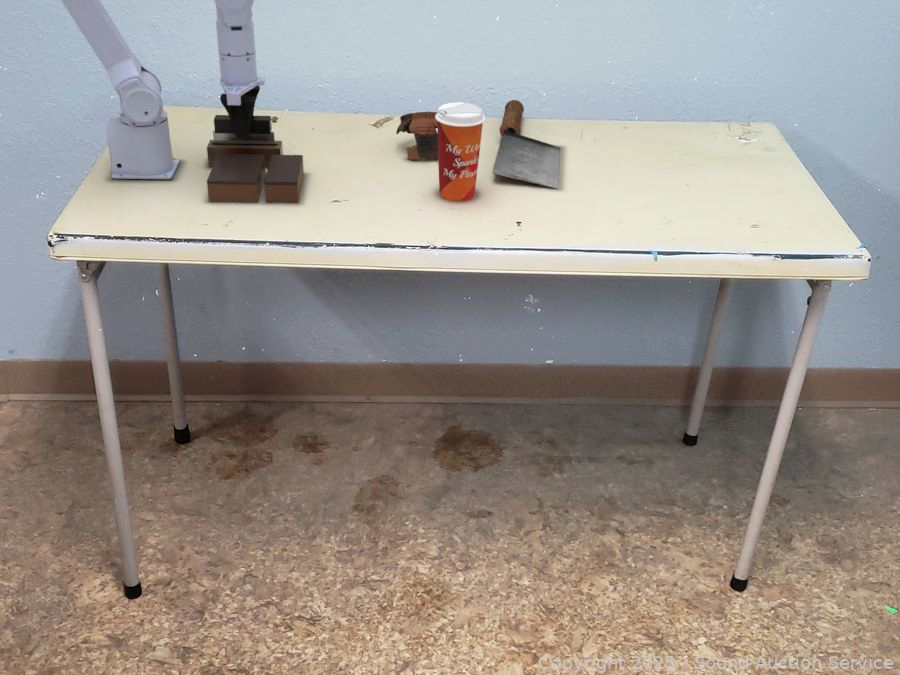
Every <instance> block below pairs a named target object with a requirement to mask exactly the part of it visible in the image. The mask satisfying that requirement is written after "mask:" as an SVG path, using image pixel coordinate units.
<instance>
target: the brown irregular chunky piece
mask: <svg viewBox="0 0 900 675" xmlns="http://www.w3.org/2000/svg"><path fill="white" fill-rule="evenodd" d="M437 113H438V111H417V112H409V113H406V114H402V115H401V116H400V117H399V119H400V123H399V125H398V126H397V128H396V132H395V134H396V135H398V134H399V133H400V132H401V133H407V134H412V135H413V136H414V139H415V144H414V145H411V146H407V147H406V153H407V157H408V160H409V161H410V160H419V159H422V160H423V159H425V160H438V130H437V129H438V126H437V120H436V118H435V116H436V114H437Z"/></svg>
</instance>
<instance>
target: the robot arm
mask: <svg viewBox="0 0 900 675" xmlns="http://www.w3.org/2000/svg"><path fill="white" fill-rule="evenodd" d="M60 1H61V2H62V4H63V6H64V8H65V9H66V11H67V12H68V14H69V16H70V17H71V18H72V19H73V21H74V23H75V24H76V26H77V28H78V29H79V31H80V32H81V34H82V35H83V37H84V38H85V40H86V42H87V43H88V44H89V46H90V48H91V49H92V50H93V52H94V54H95V56H96V57H97V58H98V60H99V61H100V63H101V64H102V66H103V67H104V70H105V71H106V73H107V76H108V78H109V80H110V83H111V85H112V87H113V89H114V90H115V92H116V94H117V96H118V98H119V107H120V112H121V113H120V114H119V115H120V116H116V117H109V119H108V121H107V124H106V141H107V147H108V154H109V160H110V165H111V171H112V174H111V178H112V179H115V180H123V179H124V180H171V179H172V178H173V177H174V176H175V173H176V170H178V169H177V168H178V167H179V165H180V163H181V159H180V158H179V157H176V158H174V157H173V150H172V140H171V134H170V133H171V132H170V126H169V125H170V124H169V118H168V112H167V111H166V110H164V102H163V99H162V85H161V82H160V80H159V77H158V76H157V75H156V74H155V73H154V72H152V71H150V70H149V69H147V68H146V67H145V66H144V64H143V63H142V62H141V59H139V57H138V56H137V55H136V54H135V53H134V52H132V50H131V48H130V46H129V45H128V43H127V41H126V40H125V38H124V37H123V35H122V34H121V32H120V31H119V29H118V27H117V26H116V24H115V22H114V21H113V18H112V17H111V16H110V14H109V13H108V11H107V9H106V7H105V6H104V5H103V3H102V1H101V0H60ZM254 1H255V0H213V2H214V3H215V8H216V10H215V12H216V21H215V27H216V39H217V50H218V61H219V62H218V63H219V71H220V78H219V85H220V86H221V88H222V89H223V90H224V91H223V92H224V93H221V95H220V98H219V99H220V103H221V105H222V106H223V108H224V109H225V110H226V112H227V115H229V117H230V120H231V123H232V126H233V130H234V133H235V135H236V137H244V138H248V137H249V134H250V128H251V116H254V114H255V105H256V101H257V98H258V95H259V93H260V90H261V86H264V85H265V83H266V78H265V77H259V76H258V69H257V56H256V42H255V41H256V40H255V27H254V26H255V25H254V21H253V19H252V18H253V11H252V7H253V5H254Z"/></svg>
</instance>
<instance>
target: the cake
mask: <svg viewBox="0 0 900 675" xmlns="http://www.w3.org/2000/svg"><path fill="white" fill-rule="evenodd" d="M266 169H267V168H265V156H264V155H259V154H218V155H217V158H216V160H215V162H214V165H213V167H211V170H210V172H209V175H208V177H207V180H206V185H207V196H208V202H212V203H213V202H214V203H258V202H259V200H260V196H261V194H262V189H263V186H264V181H265V178H266V174H267V170H266Z"/></svg>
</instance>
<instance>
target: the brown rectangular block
mask: <svg viewBox="0 0 900 675" xmlns="http://www.w3.org/2000/svg"><path fill="white" fill-rule="evenodd" d="M304 175H305V172H304V155H303V154H283V155H272V157H271V160H270V164H269V167H268V168H267V170H266V176H265V179H264V183H263V185H264V194H265V202H266V203H287V204H288V203H290V204H291V203H293V204H295V203H297V204H298V203H299V201H300V196H301V191H302V186H303V180H304Z"/></svg>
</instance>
